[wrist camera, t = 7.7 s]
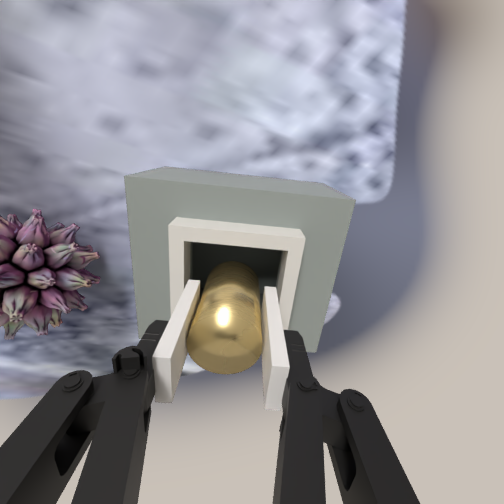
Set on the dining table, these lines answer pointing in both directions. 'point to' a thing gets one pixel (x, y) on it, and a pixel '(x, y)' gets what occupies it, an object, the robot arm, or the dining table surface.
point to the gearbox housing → (235, 239)
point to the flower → (40, 273)
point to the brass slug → (227, 321)
